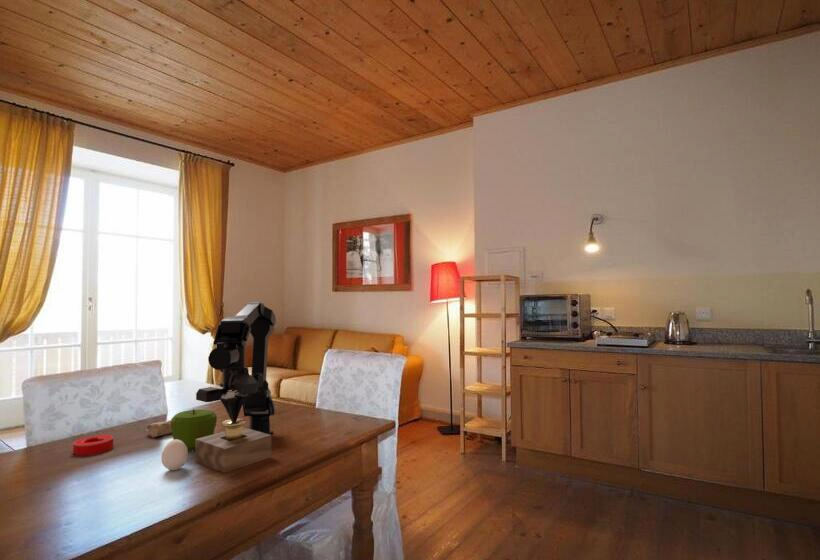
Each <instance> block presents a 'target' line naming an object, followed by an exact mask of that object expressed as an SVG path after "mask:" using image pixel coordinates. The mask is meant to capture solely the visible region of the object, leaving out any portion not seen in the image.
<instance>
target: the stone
mask: <svg viewBox="0 0 820 560" xmlns="http://www.w3.org/2000/svg"><path fill="white" fill-rule="evenodd" d="M145 431H146V433H147V434H148V436H149V437H150V438H154V439H155V438H156V437H159V436H165V435H169V434H172V430H171V419H170V420H167V421H158V422H155V423H151V424H150V423H149V424H148V425H147V427H146V429H145Z"/></svg>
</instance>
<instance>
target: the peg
mask: <svg viewBox="0 0 820 560" xmlns="http://www.w3.org/2000/svg"><path fill="white" fill-rule="evenodd" d="M245 424H246V419H244V418H237V421H235V422H232V421H231V419H230V418H229V419H226V420H224V421H222V422H221V426H222V427H224V431H225V440H228V441H234V440H237V439H240V438H242V427H243V425H245Z"/></svg>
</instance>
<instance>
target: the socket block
mask: <svg viewBox="0 0 820 560" xmlns="http://www.w3.org/2000/svg"><path fill="white" fill-rule="evenodd" d="M194 452H195V453H194V454H195V459H194V460H195V463H198V464H200V465H203V466H206V467H208V468H210V469H213V470H216V471H218V472H221V473H223V474H226V473H230V472H231V471H235V470H237V469H240V468H243V467H246V466H250V465H252V464H255V463H259V462H260V461H264V460H266V459H270V458H271V457H272V435H271V434H266V433H262V432H259V431H255V430H251V429H249V428H247V427H244V426H242V438H240V439H237V440H234V441H228V440H225V430H224V431H221V432H218V433H214V434H213V435H209V436H206V437H202V438H198V439H195V451H194Z"/></svg>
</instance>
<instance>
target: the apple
mask: <svg viewBox="0 0 820 560" xmlns="http://www.w3.org/2000/svg"><path fill="white" fill-rule="evenodd" d="M170 420H171V430H172V433H171V434H172V438H173V439H172V440H175V439H178V440H181V441H182V442H183V443H184V444H185V445H186V447H187V451H188V452H195V439H198V438H202V437H206V436H209V435H213V434H215V430H216V426H217V420H218V416H217V413H215V411H213V410H210V409H201V408H199V409H197V408H196V409H194V408H193V409H191V410H189V409H188V410H184V411H180V412H178V413H176V414H174V416H173V417H172V418H171V419H170Z"/></svg>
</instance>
